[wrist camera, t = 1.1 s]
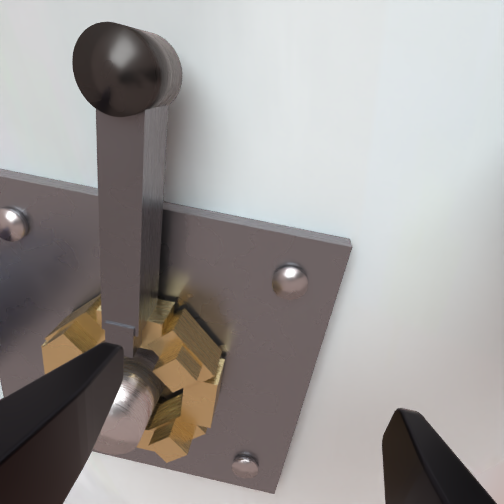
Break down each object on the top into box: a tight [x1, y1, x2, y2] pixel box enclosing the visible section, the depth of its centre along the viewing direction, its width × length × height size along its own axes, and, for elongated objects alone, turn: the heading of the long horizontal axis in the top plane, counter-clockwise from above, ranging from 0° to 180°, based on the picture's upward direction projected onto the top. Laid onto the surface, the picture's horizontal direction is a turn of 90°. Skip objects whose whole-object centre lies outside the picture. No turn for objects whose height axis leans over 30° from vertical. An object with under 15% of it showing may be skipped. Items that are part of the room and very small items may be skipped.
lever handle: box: [41, 22, 225, 463], centre depth 18 cm, size 10×22×4 cm, turn 171°
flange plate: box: [0, 169, 352, 494], centre depth 21 cm, size 20×20×6 cm
